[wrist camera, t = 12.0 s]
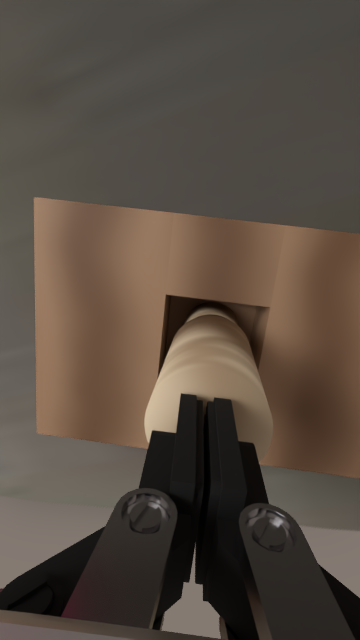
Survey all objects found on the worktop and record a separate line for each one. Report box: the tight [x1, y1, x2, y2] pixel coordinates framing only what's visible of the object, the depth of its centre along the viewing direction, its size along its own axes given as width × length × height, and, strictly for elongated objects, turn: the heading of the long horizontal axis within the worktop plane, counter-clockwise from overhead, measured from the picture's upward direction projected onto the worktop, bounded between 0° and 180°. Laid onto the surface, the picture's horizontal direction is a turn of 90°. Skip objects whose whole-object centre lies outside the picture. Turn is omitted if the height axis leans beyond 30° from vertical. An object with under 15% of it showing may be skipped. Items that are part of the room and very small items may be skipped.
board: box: [34, 197, 360, 479], centre depth 21 cm, size 20×14×5 cm
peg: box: [144, 302, 273, 462], centre depth 17 cm, size 4×4×12 cm
